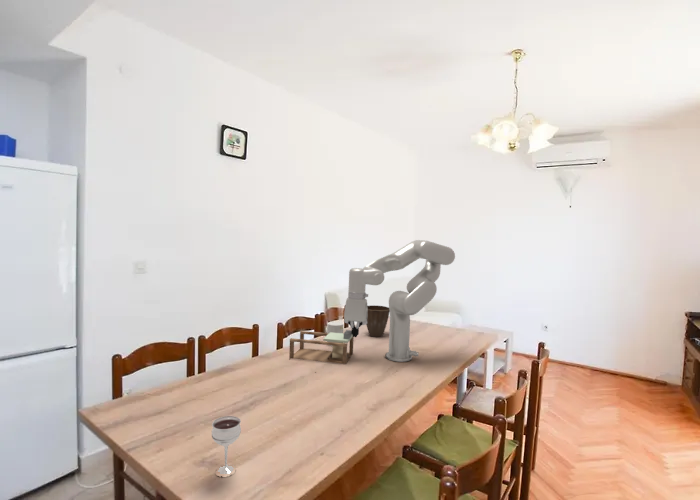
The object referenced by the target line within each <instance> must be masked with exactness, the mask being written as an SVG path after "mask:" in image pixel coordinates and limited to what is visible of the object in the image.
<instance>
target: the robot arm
mask: <svg viewBox="0 0 700 500" xmlns="http://www.w3.org/2000/svg"><path fill="white" fill-rule="evenodd" d="M420 259H422V260H423V259H424V260H425V265H424V266H423V268H422V269H421V270H420V271H419V272H418V273H417V274H416V275H414V276H413V277H412V278H411V279H410V280H409V281H408V282H407V283H406V290H407V291H403V290H395V291H393V292H392V293H391V294H390V296H389V297H388V307H389V310H390V312H389V328H388V329H389V330H388V332H389V335H388V336H389V337H388V351H387V352H385V355H384V357H385V359H387V360H389V361H393V362H398V363H402V362H403V363H405V362H409V361H411V360H413V357H419V352H418V351H416V350H412V349H411V347H410V333H411V316H414V315H416V314H418V313H419V312H420V311H421V310H422V309H423V308H424V307H426V306H427V305H428V304H429V303H430V302H431V301H432V300H433V299H434V297H435V296H436V293H437V288H438V287H437V285H436V281H437V280H438V279H439V277H440V275H441V268H442V267H441V265H443V266H449V265H451V264H452V263H453V262H455V259H456V253H455V252H454V250H453V249H452V248H451V247H449V246H445V245H442V244H439V243H436V242H432V241H429V240H420V239H415V240H413V241H411V242H409V243H408V244H406V245H404V246H402V247H401V248H399V249H398V250H396V251H394V252H392V253H391V254H388V255H385V256H383V257H381V258H378V259H375V260H374V261H371V262H370V263H369V264H367V265H366V266H364V267H363V268H360V267H354V268H351V269H349V271H348V291H347V292H348V295H347V298H346V299H345V300H346V301H345V306H344V313H343V317H344V319H343V323H345V324H347V325H349V326H350V328H351V330H352V333H351V334H352V335H353V337H354V338H357V337H358V336H359V332H360V327H362V326H365V325H366V324H367V317H368V307H367V306H368V299H367V298H368V297H369V293H366V285H369V286H380V285H381V284H382V283H383V282H384V280H385V274H386V273H388V272H392V271H400V270H403V269H404V268H406V267H408V266H409V265H411V264H412V263H414V262H415V261H417V260H420ZM355 322H356V325H355ZM366 326H367V325H366Z"/></svg>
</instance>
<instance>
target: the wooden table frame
mask: <svg viewBox="0 0 700 500" xmlns="http://www.w3.org/2000/svg"><path fill="white" fill-rule="evenodd" d="M328 334H329V333H327V332H319V331H307V330H300V331H299V338H293V337H292V338H290V339H289V352H288V353H289V355H288V357H289V361H290V360H291V359H294V360H295V359H296V360H305V361H315V362H324V363H333V364H343V365H347V363H348V362H349V360H350V359H351V357H352V356H353V354H354V338H355V337H352V338H351V339H350V341H349V349H348V343H335V342H327V341H323V340H314V339H312V340H311V339H305V335H313V336H321V337H326V336H327V335H328ZM295 343H299V349H298V350H297V351H296V352H295ZM305 343H306V344H312V345H313V344H314V345H322V346H323V345H324V346H329V345H332V346H331V347H333V346H342V347H343V359H339V358H332V350H323V349H313V348H305V346H304V345H305ZM348 350H349V351H348Z"/></svg>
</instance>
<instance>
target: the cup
mask: <svg viewBox="0 0 700 500" xmlns="http://www.w3.org/2000/svg"><path fill="white" fill-rule="evenodd" d="M330 332H333V333H344V322H341V321H330V322H327V327H326V333H330ZM326 342H330V341H326ZM337 343H340V342H337ZM328 346H329V347H333V346H332V345H328Z"/></svg>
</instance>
